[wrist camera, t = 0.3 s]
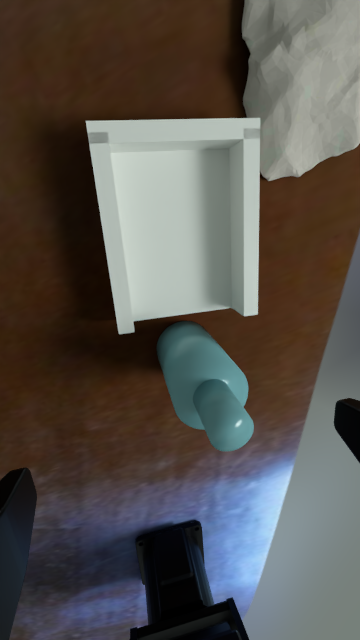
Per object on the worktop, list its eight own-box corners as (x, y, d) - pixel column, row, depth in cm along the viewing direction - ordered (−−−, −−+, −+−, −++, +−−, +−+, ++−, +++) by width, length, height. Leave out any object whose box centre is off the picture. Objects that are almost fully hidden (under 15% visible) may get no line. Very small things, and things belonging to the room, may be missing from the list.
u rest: (240, 303, 23) (257, 314, 20) (118, 320, 21) (118, 334, 18) (238, 133, 19) (260, 117, 16) (90, 137, 17) (85, 120, 14)
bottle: (211, 367, 24) (273, 458, 15) (159, 376, 23) (189, 478, 14) (209, 317, 22) (276, 382, 13) (153, 325, 22) (182, 400, 12)
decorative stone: (269, -139, 16) (203, 168, 21) (301, -239, 12) (212, 161, 17) (444, -70, 17) (340, 201, 22) (517, -141, 13) (373, 201, 19)
